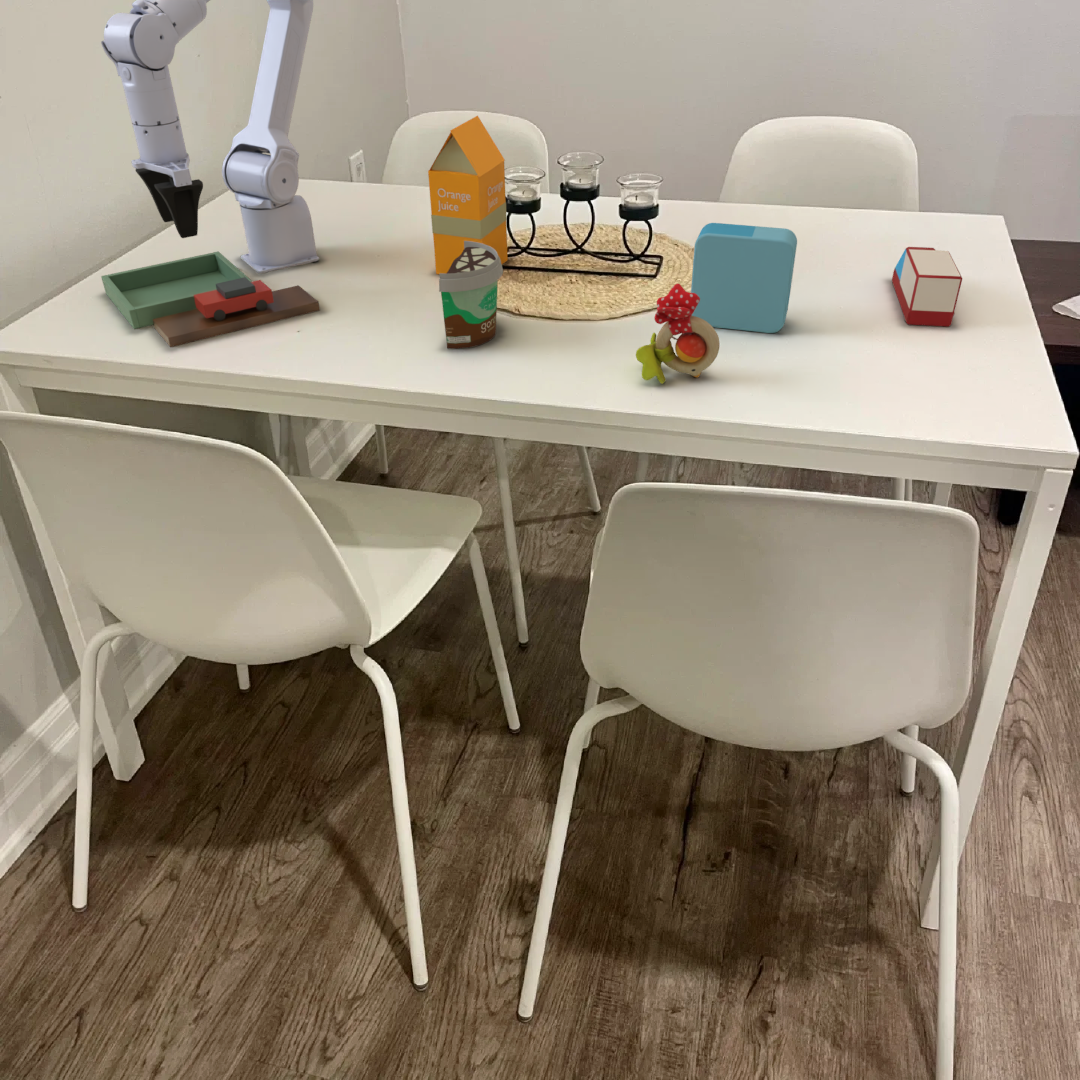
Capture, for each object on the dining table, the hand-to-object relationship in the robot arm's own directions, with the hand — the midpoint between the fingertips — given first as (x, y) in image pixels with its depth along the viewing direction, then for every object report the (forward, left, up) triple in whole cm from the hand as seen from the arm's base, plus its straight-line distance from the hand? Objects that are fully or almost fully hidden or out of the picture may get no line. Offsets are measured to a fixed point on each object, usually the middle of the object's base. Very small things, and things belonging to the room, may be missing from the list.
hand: (180, 228), depth 133 cm
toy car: (-2, +12, -8) cm, 14 cm away
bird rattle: (-39, +57, -10) cm, 70 cm away
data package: (-55, +50, -10) cm, 75 cm away
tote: (+2, 0, -9) cm, 10 cm away
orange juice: (-37, +13, -10) cm, 40 cm away
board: (-2, +12, -9) cm, 15 cm away
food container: (-26, +34, -10) cm, 44 cm away
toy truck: (-79, +59, -10) cm, 99 cm away
